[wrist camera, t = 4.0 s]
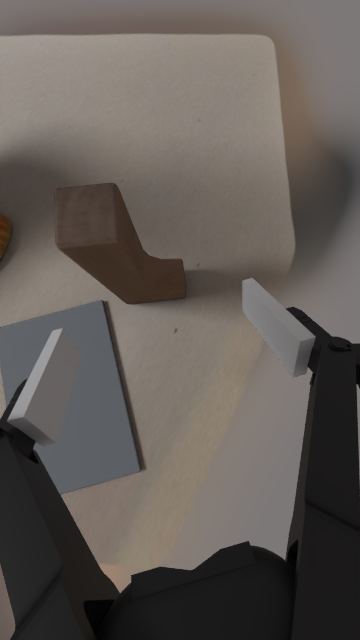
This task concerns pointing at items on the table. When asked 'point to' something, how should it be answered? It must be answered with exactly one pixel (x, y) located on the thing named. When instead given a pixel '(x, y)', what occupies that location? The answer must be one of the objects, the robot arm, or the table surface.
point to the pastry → (4, 234)
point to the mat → (77, 397)
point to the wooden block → (112, 245)
